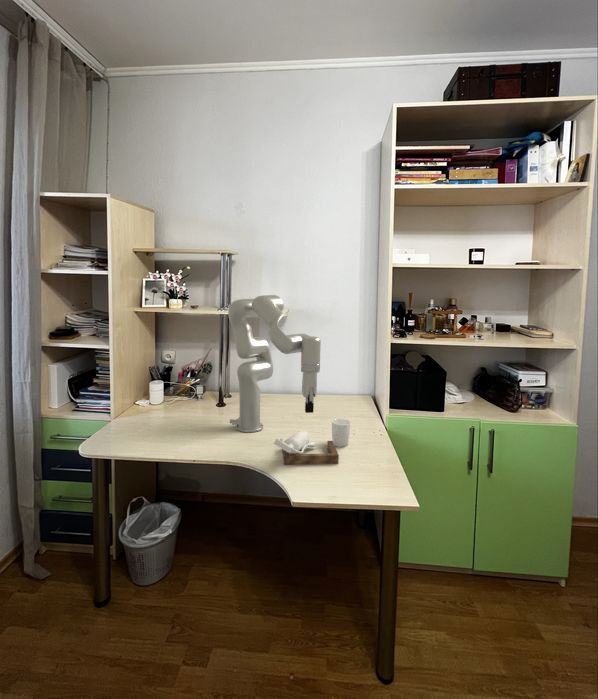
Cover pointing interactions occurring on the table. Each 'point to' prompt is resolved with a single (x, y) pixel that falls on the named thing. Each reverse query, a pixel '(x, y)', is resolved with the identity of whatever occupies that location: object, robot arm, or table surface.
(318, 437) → the table surface
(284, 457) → the u rest
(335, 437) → the white cup
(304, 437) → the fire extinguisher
